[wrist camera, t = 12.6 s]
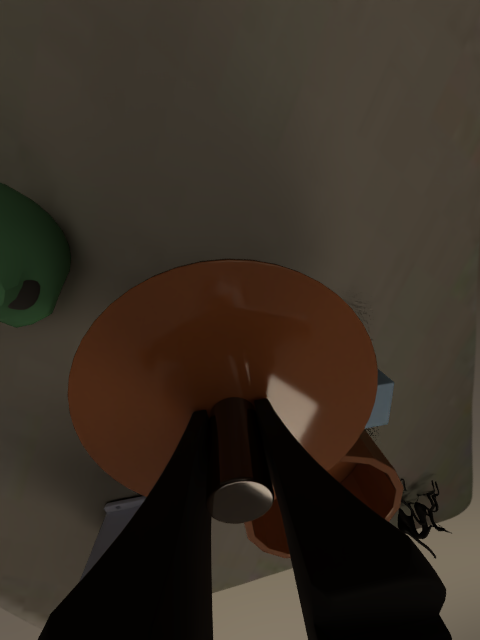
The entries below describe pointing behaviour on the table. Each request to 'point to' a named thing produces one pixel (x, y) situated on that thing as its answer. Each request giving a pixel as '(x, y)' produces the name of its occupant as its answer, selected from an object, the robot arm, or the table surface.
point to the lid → (221, 376)
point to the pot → (355, 475)
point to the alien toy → (29, 260)
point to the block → (381, 402)
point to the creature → (421, 512)
